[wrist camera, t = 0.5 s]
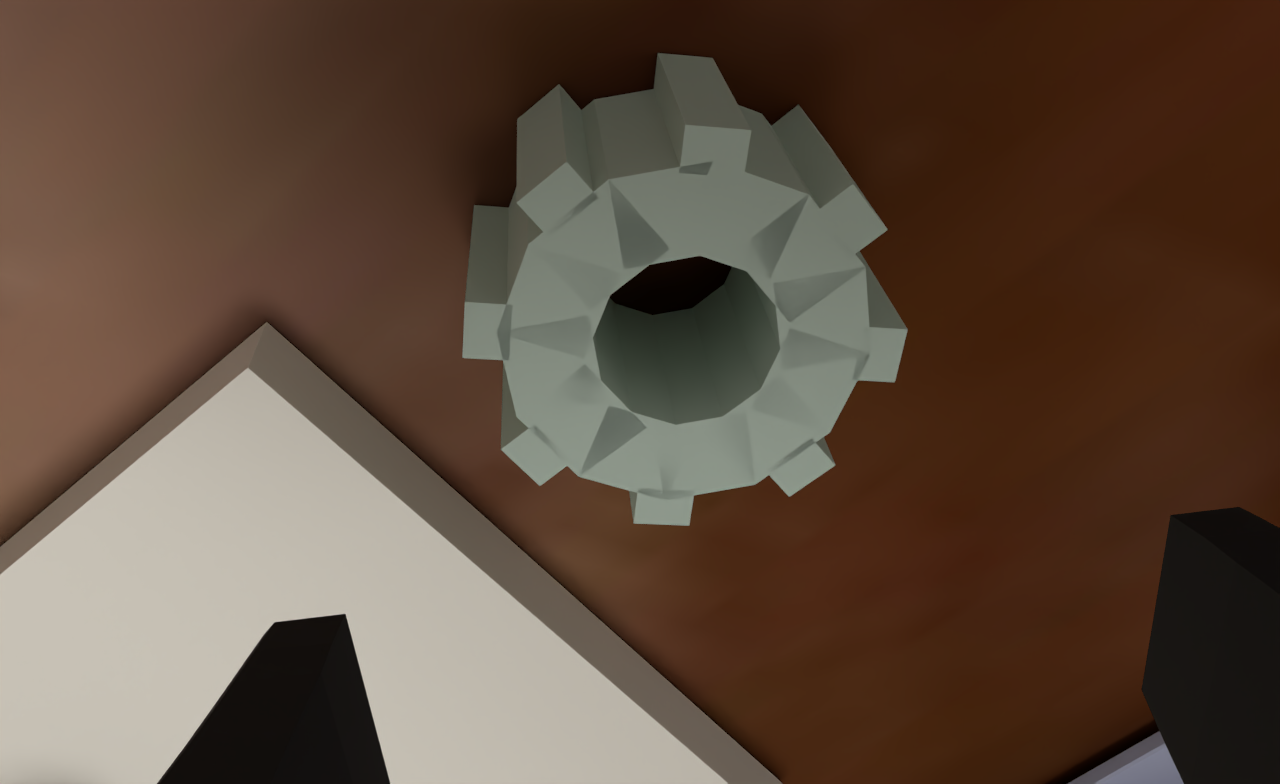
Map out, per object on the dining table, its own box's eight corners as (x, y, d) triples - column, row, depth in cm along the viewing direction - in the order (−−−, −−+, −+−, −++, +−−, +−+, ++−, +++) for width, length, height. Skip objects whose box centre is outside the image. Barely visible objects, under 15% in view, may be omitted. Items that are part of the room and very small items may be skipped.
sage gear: (916, 260, 19) (986, 361, 16) (633, 464, 21) (651, 590, 18) (696, -32, 17) (733, 24, 14) (392, 224, 18) (367, 324, 15)
